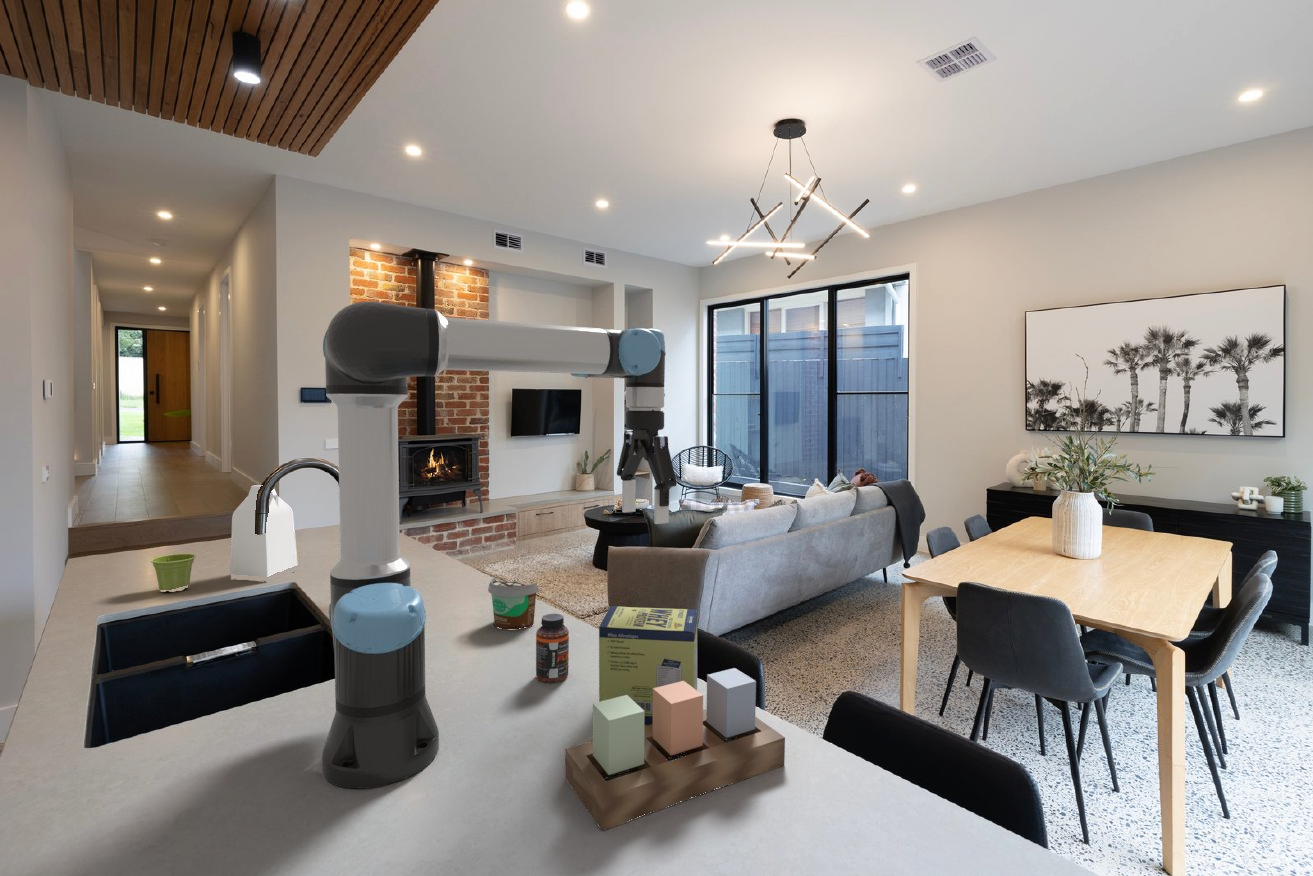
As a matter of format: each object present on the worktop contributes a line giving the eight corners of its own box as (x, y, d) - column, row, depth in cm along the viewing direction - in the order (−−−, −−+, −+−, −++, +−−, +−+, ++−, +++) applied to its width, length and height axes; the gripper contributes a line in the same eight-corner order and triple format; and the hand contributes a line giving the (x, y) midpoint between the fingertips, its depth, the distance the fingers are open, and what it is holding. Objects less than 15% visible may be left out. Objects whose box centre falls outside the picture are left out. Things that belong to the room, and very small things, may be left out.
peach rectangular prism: (670, 755, 82) (671, 703, 81) (652, 737, 86) (652, 688, 86) (702, 745, 84) (703, 695, 84) (683, 728, 88) (683, 680, 88)
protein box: (608, 692, 109) (609, 605, 108) (697, 697, 107) (698, 608, 106) (596, 722, 98) (597, 626, 97) (695, 728, 97) (696, 631, 96)
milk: (229, 580, 174) (227, 488, 172) (262, 569, 185) (260, 482, 184) (267, 582, 172) (265, 489, 170) (298, 571, 183) (296, 483, 182)
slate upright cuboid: (726, 738, 86) (727, 688, 86) (706, 721, 90) (707, 674, 90) (755, 729, 89) (756, 681, 88) (734, 713, 93) (734, 667, 93)
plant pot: (189, 582, 171) (188, 551, 170) (202, 589, 165) (201, 556, 165) (146, 591, 163) (145, 558, 163) (159, 597, 158) (157, 564, 157)
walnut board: (601, 831, 73) (602, 798, 73) (565, 777, 84) (565, 748, 83) (784, 765, 87) (784, 737, 87) (733, 725, 97) (733, 701, 97)
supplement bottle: (562, 686, 111) (562, 623, 110) (530, 682, 112) (530, 621, 111) (573, 671, 117) (573, 612, 116) (543, 668, 118) (543, 610, 117)
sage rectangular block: (608, 775, 77) (609, 720, 77) (592, 755, 82) (592, 703, 81) (644, 764, 80) (644, 711, 79) (626, 745, 84) (627, 695, 84)
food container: (476, 627, 139) (476, 583, 138) (493, 618, 145) (493, 576, 144) (523, 635, 134) (523, 590, 134) (539, 626, 140) (538, 582, 139)
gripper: (696, 410, 112) (694, 526, 113) (633, 408, 134) (632, 506, 135) (660, 410, 108) (659, 530, 110) (601, 408, 130) (600, 509, 131)
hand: (644, 517), depth 122 cm, fingers open, 13 cm apart
